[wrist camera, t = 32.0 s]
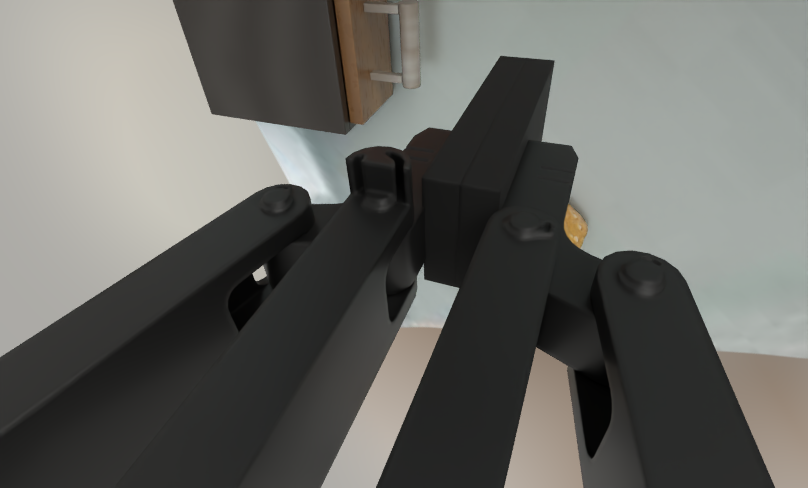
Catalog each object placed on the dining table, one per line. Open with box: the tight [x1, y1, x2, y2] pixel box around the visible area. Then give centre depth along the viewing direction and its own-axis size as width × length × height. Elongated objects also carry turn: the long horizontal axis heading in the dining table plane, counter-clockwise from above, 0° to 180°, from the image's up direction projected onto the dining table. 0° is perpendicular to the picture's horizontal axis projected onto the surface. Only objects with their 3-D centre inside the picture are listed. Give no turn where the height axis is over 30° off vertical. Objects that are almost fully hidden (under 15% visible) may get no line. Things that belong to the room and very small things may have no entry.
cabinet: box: [173, 0, 356, 135], centre depth 38 cm, size 14×13×8 cm
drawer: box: [332, 0, 421, 125], centre depth 37 cm, size 17×11×6 cm
